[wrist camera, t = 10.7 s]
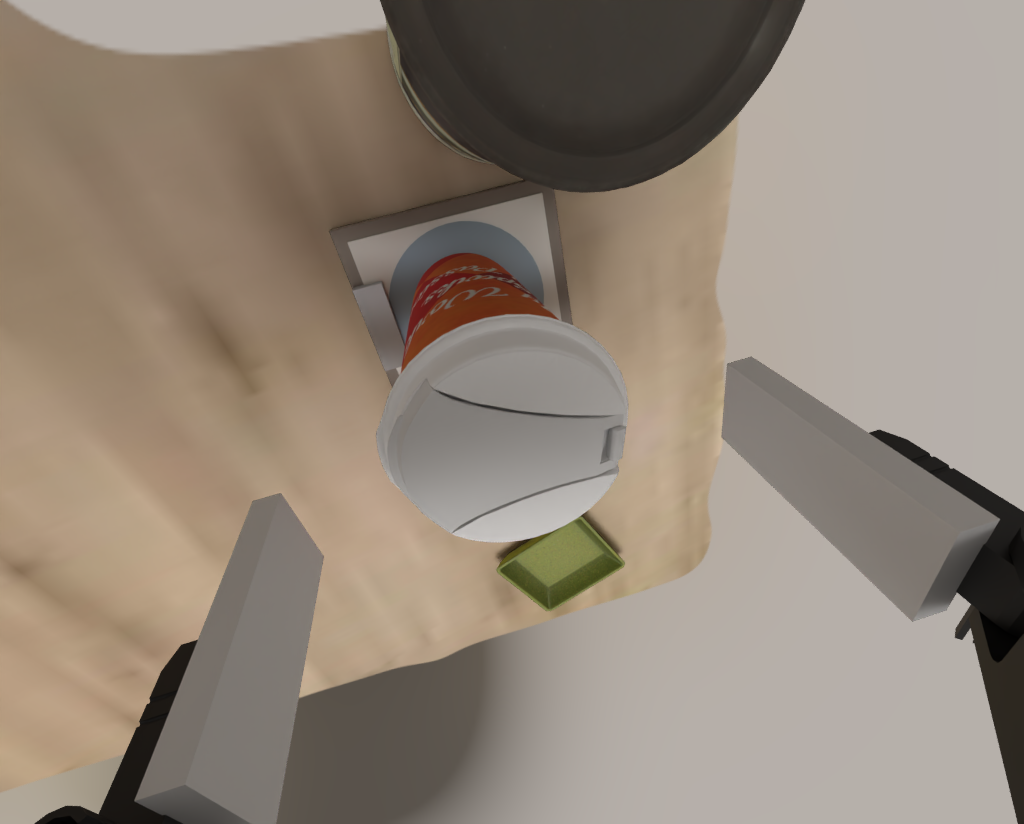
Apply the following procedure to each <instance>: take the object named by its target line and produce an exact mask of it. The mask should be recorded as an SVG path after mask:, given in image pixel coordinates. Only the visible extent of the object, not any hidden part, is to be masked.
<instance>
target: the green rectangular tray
mask: <svg viewBox="0 0 1024 824" xmlns="http://www.w3.org/2000/svg"><path fill="white" fill-rule="evenodd" d="M624 565H625V562H624V561H623V560H622V559H621V557H620V556H619V555H618V554H617V553H616V552H615V551H614V550H613V549H612V548H611V547H610V546H609V545H608V544H607V543H606V542H605V540H604V539H603V538H602V537H601V536H600V535H599V534H598V533H597V532H596V531H595V530H594V529H593V528H592V526H591V525H590V524H589V523H588V522H587V521H586V520H585V519H584V518H583V517H582V516H580V517H578V518H577V519H575V520H573V521H572V522H570V523H568V524H567V525H565V526H563V527H561V528H558V529H556V530H554V531H552V532H549V533H546V534H543V535H540V536H537V537H534V538H532V539H530V540H529V541H527V542H526V543H524V544H523V545H521V546H520V547H518V548H516V549H515V550H513V551H512V552H510V553H509V554H508V555H507V556H506V557H505V558H504V559H503V560H502V562H501V563H500V564H499V566H498V568H497V569H496V570H497V572H498V573H499V574H500V575H501V576H502V577H504V578H505V579H506V580H507V581H509V582H510V583H511V584H513V585H514V586H515V587H516V588H518V589H519V590H520V591H522V592H523V593H524V594H525V595H527V596H528V597H529V598H530V599H531V600H533V601H534V602H535V603H537V604H538V605H539V606H540V607H542V608H543V609H544V610H545V611H552V610H554V609H556V608H557V607H559V606H561V605H562V604H564V603H566V602H567V601H569V600H570V599H572V598H574V597H575V596H577V595H578V594H580V593H582V592H583V591H585V590H587V589H588V588H590V587H592V586H593V585H595V584H597V583H598V582H600V581H602V580H603V579H605V578H607V577H608V576H610V575H611V574H613V573H615V572H616V571H618V570H620V569H621V568H623V567H624Z"/></svg>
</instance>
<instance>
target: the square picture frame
mask: <svg viewBox="0 0 1024 824" xmlns="http://www.w3.org/2000/svg"><path fill="white" fill-rule="evenodd" d="M329 233H330V235H331V237H332V240H333V242H334V245H335V247H336V250H337V252H338V255H339V257H340V260H341V262H342V265H343V267H344V270H345V272H346V274H347V277H348V279H349V282H350V284H351V287H352V289H353V290H352V291H353V294H354V296H355V299H356V301H357V304H358V306H359V308H360V311H361V313H362V316H363V318H364V321H365V323H366V326H367V328H368V331H369V333H370V336H371V338H372V340H373V343H374V345H375V348H376V350H377V353H378V355H379V358H380V360H381V363H382V365H383V367H384V370H385V371H386V373H387V375H388V378H389V380H390V383H391V385H392V388H393V386H394V384H395V382H396V380H397V378H398V377H399V375H400V374H401V368H402V362H403V356H404V349H405V343H406V337H407V331H408V325H409V319H410V314H411V308H412V303H413V299H414V295H415V291H416V288H417V286H418V283H419V281H420V279H421V278H422V276H423V275H424V273H425V272H426V271H427V270H428V269H429V268H430V267H431V266H432V265H433V264H434V263H436V262H437V261H439V260H440V259H442V258H444V257H447V256H449V255H453V254H458V253H473V254H479V255H482V256H485V257H487V258H489V259H491V260H493V261H495V262H496V263H498V264H499V265H500V266H502V267H503V268H504V269H505V270H506V271H508V272H509V273H510V274H511V275H512V276H513V277H514V278H515V279H517V280H518V281H519V282H520V283H521V284H522V285H523V286H524V287H525V288H526V289H527V290H528V291H529V292H530V293H532V294H533V295H534V296H535V297H536V298H537V299H538V300H539V301H540V302H541V303H542V304H543V305H544V306H545V307H546V308H547V309H548V310H549V311H551V312H552V313H553V314H554V315H555V316H556V317H557V318H558V319H559V320H560V321H563V322H566V323H569V324H571V325H572V317H571V310H570V303H569V296H568V288H567V281H566V274H565V267H564V259H563V252H562V245H561V238H560V230H559V223H558V216H557V209H556V201H555V194H554V189H552V188H548V187H545V186H541V185H538V184H535V183H532V182H529V181H527V180H524V181H520V182H516V183H512V184H508V185H504V186H500V187H496V188H492V189H488V190H484V191H481V192H477V193H473V194H469V195H465V196H461V197H457V198H453V199H449V200H445V201H441V202H437V203H433V204H429V205H425V206H421V207H418V208H414V209H410V210H406V211H402V212H398V213H394V214H390V215H386V216H382V217H378V218H374V219H370V220H366V221H362V222H358V223H354V224H351V225H347V226H343V227H339V228H335V229H331V230H330V231H329Z"/></svg>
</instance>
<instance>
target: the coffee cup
mask: <svg viewBox="0 0 1024 824" xmlns="http://www.w3.org/2000/svg"><path fill="white" fill-rule="evenodd" d="M627 420H628V398H627V390H626V386H625V383H624V380H623V377H622V374H621V372H620V370H619V368H618V366H617V365H616V363H615V361H614V359H613V358H612V357H611V355H610V354H609V353H608V352H607V351H606V350H605V348H604V347H603V346H602V345H601V344H600V343H599V342H597V341H596V340H595V339H594V338H592V337H591V336H590V335H589V334H587V333H586V332H584V331H582V330H580V329H579V328H577V327H575V326H573V325H571V324H569V323H566V322H563V321H560V320H559V319H558V318H557V317H556V316H555V315H554V314H553V313H552V312H551V311H549V310H548V309H547V308H546V307H545V306H544V305H543V304H542V303H541V302H540V301H539V300H538V299H537V298H536V297H535V296H534V295H533V294H532V293H530V292H529V291H528V290H527V289H526V288H525V287H524V286H523V285H522V284H521V283H520V282H519V281H518V280H517V279H515V278H514V277H513V276H512V275H511V274H510V273H509V272H508V271H506V270H505V269H504V268H503V267H502V266H500V265H499V264H498V263H496V262H495V261H493V260H491V259H489V258H487V257H485V256H482V255H479V254H473V253H458V254H453V255H449V256H447V257H444V258H442V259H440V260H439V261H437V262H436V263H434V264H433V265H432V266H431V267H430V268H429V269H428V270H427V271H426V272H425V273H424V275H423V276H422V278H421V279H420V281H419V283H418V286H417V288H416V291H415V295H414V299H413V303H412V308H411V314H410V319H409V325H408V331H407V337H406V343H405V349H404V356H403V362H402V368H401V374H400V375H399V377H398V378H397V380H396V382H395V384H394V386H393V388H392V390H391V392H390V394H389V396H388V398H387V402H386V405H385V409H384V412H383V415H382V418H381V421H380V424H379V427H378V429H377V432H376V439H377V448H378V453H379V456H380V459H381V463H382V466H383V468H384V470H385V472H386V474H387V475H388V477H389V479H390V481H391V482H392V483H393V484H394V485H396V486H397V487H398V488H399V489H400V490H401V491H402V492H403V494H404V495H405V496H406V497H407V498H408V499H409V500H410V501H411V502H412V503H413V504H415V505H416V506H417V507H418V508H419V510H420V511H421V512H422V513H423V514H424V515H426V516H427V517H428V518H429V519H431V520H432V521H433V522H434V523H436V524H437V525H439V526H440V527H442V528H443V529H445V530H446V531H448V532H449V533H451V534H453V535H456V536H458V537H462V538H466V539H470V540H474V541H482V542H512V541H520V540H525V539H530V538H534V537H537V536H540V535H543V534H546V533H549V532H552V531H554V530H556V529H558V528H561V527H563V526H565V525H567V524H568V523H570V522H572V521H573V520H575V519H577V518H578V517H580V516H581V515H582V514H583V513H585V512H586V511H587V510H589V509H590V508H591V507H592V506H593V505H594V504H595V503H596V502H597V501H598V500H599V499H600V498H602V496H603V495H604V494H605V493H606V491H607V490H608V489H609V488H610V486H611V485H612V484H613V482H614V480H615V478H616V477H617V475H618V472H619V467H618V460H619V459H621V458H622V454H623V447H624V439H625V433H626V426H627Z"/></svg>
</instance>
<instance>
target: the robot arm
mask: <svg viewBox="0 0 1024 824" xmlns="http://www.w3.org/2000/svg"><path fill="white" fill-rule="evenodd" d="M722 438H723V439H724V440H725V441H726V442H727V443H728V444H729V445H730V446H731V447H732V448H733V449H734V450H735V451H736V452H737V453H738V454H739V455H741V457H743V458H744V459H745V460H746V461H747V462H748V463H749V464H750V465H751V466H752V467H753V468H754V469H755V470H756V471H757V472H758V473H759V474H760V475H761V476H762V477H763V478H764V479H765V480H766V481H767V482H768V483H769V484H770V485H771V486H773V487H774V488H775V489H776V490H777V491H778V492H779V493H780V494H781V495H782V496H783V497H784V498H785V499H786V500H787V501H788V502H789V503H790V504H791V505H792V506H793V507H794V508H795V509H796V510H797V511H799V513H801V515H803V516H804V517H805V518H806V519H807V520H808V521H809V522H810V523H811V524H812V525H813V526H814V527H815V528H816V529H817V530H818V531H819V532H820V533H821V534H822V535H823V536H824V537H825V538H826V539H827V540H828V541H829V542H831V544H833V545H834V546H835V547H836V548H837V549H838V550H839V551H840V552H841V553H842V554H843V555H844V556H845V557H846V558H847V559H848V560H849V561H850V562H851V563H852V564H853V565H854V566H856V568H857V569H859V571H860V572H862V573H863V574H864V575H865V576H866V577H867V578H868V579H869V580H870V581H871V582H872V583H873V584H874V585H875V586H876V587H877V588H878V589H879V590H880V591H881V592H882V593H883V594H884V595H885V596H886V597H887V598H888V599H889V600H891V601H892V602H893V603H894V604H895V605H896V606H897V607H898V608H899V609H900V610H901V611H902V612H903V613H904V614H905V615H906V616H907V617H908V618H909V619H910V620H911V621H912V622H913V621H916V620H919V619H922V618H925V617H928V616H931V615H934V614H937V613H940V612H943V611H945V610H947V608H948V607H949V605H950V603H951V601H952V600H953V598H954V596H955V595H956V593H959V594H960V595H961V596H962V597H963V598H965V599H966V600H967V601H968V602H969V603H970V604H971V605H970V607H969V609H968V610H967V612H966V613H965V615H964V616H963V618H962V620H961V621H960V623H959V624H958V626H957V627H956V632H955V638H957V639H961V640H962V639H963V638H964V637H965V635H966V634H967V632H968V631H969V629H970V628H971V631H972V635H973V639H974V640H973V643H975V647H976V651H977V655H978V660H979V664H980V668H981V672H982V676H983V680H984V684H985V689H986V692H987V697H988V701H989V705H990V710H991V714H992V718H993V722H994V726H995V730H996V734H997V738H998V743H999V747H1000V751H1001V755H1002V759H1003V764H1004V768H1005V771H1006V776H1007V780H1008V784H1009V788H1010V793H1011V797H1012V801H1013V805H1014V809H1015V813H1016V818H1017V822H1018V824H1024V512H1023V511H1022V510H1020V509H1018V508H1017V507H1015V506H1014V505H1012V504H1010V503H1009V502H1007V501H1006V500H1004V499H1003V498H1001V497H999V496H998V495H996V494H994V493H993V492H991V491H989V490H988V489H986V488H985V487H983V486H981V485H980V484H978V483H977V482H975V481H973V480H972V479H970V478H968V477H967V476H965V475H963V474H962V473H960V472H959V471H957V470H955V469H954V468H953V469H950V468H949V465H947V464H946V463H944V462H943V461H941V460H939V459H938V458H936V457H931V456H930V454H929V453H928V452H926V451H925V450H923V449H921V448H920V447H918V446H917V445H915V444H913V443H912V442H910V441H909V440H907V439H904V438H901V437H898V436H896V435H893V434H890V433H887V432H884V431H882V430H877V431H874V432H870V433H868V432H866V431H864V430H863V429H861V428H860V427H858V426H857V425H855V424H854V423H852V422H851V421H849V420H848V419H846V418H845V417H843V416H842V415H840V414H839V413H837V412H835V411H834V410H832V409H831V408H829V407H828V406H826V405H825V404H823V403H822V402H820V401H819V400H817V399H816V398H814V397H812V396H811V395H809V394H808V393H806V392H805V391H803V390H802V389H800V388H799V387H797V386H796V385H794V384H793V383H791V382H789V381H788V380H787V379H785V378H783V377H782V376H780V375H779V374H777V373H776V372H774V371H773V370H771V369H770V368H768V367H767V366H765V365H763V364H762V363H761V362H759V361H757V360H756V359H754V358H753V357H748V358H745V359H742V360H738V361H734V362H731V363H728V364H727V372H726V385H725V398H724V411H723V424H722ZM323 559H324V556H323V555H322V553H321V552H320V550H319V549H318V547H317V546H316V544H315V543H314V541H313V540H312V538H311V537H310V535H309V534H308V532H307V531H306V529H305V528H304V527H303V525H302V524H301V522H300V521H299V519H298V518H297V516H296V515H295V513H294V512H293V510H292V509H291V507H290V506H289V504H288V503H287V501H286V500H285V498H284V497H283V496H282V494H281V493H279V494H276V495H272V496H269V497H265V498H262V499H258V500H255V501H253V502H252V505H251V507H250V510H249V512H248V515H247V517H246V520H245V522H244V525H243V527H242V530H241V532H240V535H239V538H238V540H237V543H236V545H235V548H234V550H233V553H232V555H231V558H230V560H229V563H228V565H227V568H226V570H225V573H224V575H223V578H222V581H221V583H220V586H219V588H218V591H217V593H216V596H215V598H214V601H213V603H212V606H211V608H210V611H209V613H208V616H207V618H206V621H205V623H204V626H203V629H202V631H201V634H200V636H199V639H198V640H196V641H192V642H189V643H186V644H183V645H181V646H180V647H179V649H178V650H177V651H176V653H175V654H174V655H173V657H172V658H171V659H170V661H169V662H168V663H167V665H166V666H165V667H164V669H163V670H162V671H161V673H160V676H159V678H158V680H157V683H156V685H155V687H154V689H153V692H152V694H151V696H150V698H149V699H150V703H149V704H147V705H146V708H145V710H144V712H143V714H142V717H141V719H140V721H139V722H140V726H139V727H137V728H136V730H135V733H134V735H133V737H132V739H131V742H130V744H129V746H128V748H127V751H126V753H125V755H124V758H123V760H122V762H121V765H120V767H119V769H118V771H117V774H116V776H115V778H114V780H113V783H112V785H111V787H110V790H109V792H108V794H107V796H106V799H105V801H104V803H103V805H102V808H101V810H100V812H99V814H96V813H94V812H92V811H90V810H87V809H85V808H83V807H81V806H65V807H62V808H60V809H58V810H55V811H53V812H51V813H48V814H47V815H45V816H44V817H43V818H42V819H40V820H39V821H37V822H36V823H35V824H276V821H277V814H278V810H279V804H280V798H281V793H282V787H283V782H284V776H285V770H286V765H287V759H288V754H289V748H290V743H291V737H292V731H293V726H294V720H295V715H296V709H297V704H298V698H299V692H300V687H301V681H302V676H303V670H304V665H305V659H306V653H307V648H308V642H309V637H310V631H311V625H312V620H313V614H314V609H315V603H316V598H317V592H318V586H319V581H320V575H321V570H322V564H323Z"/></svg>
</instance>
